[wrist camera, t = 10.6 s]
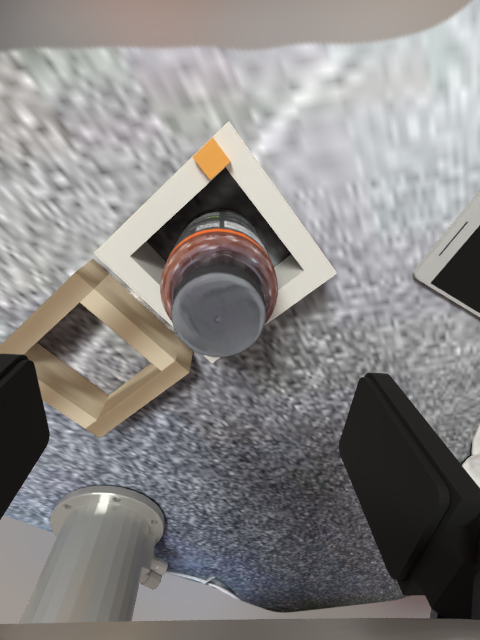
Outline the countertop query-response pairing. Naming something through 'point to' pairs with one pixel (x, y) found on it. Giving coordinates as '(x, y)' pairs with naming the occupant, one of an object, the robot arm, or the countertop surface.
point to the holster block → (123, 318)
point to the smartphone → (456, 260)
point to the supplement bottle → (219, 284)
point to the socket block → (219, 152)
